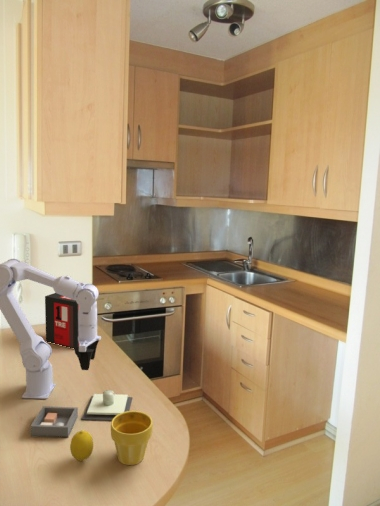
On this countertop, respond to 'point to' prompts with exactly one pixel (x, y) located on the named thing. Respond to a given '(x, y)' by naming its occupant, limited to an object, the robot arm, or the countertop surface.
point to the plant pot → (131, 435)
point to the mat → (103, 417)
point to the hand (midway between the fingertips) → (88, 364)
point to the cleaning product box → (61, 320)
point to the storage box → (54, 422)
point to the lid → (107, 403)
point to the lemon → (81, 445)
